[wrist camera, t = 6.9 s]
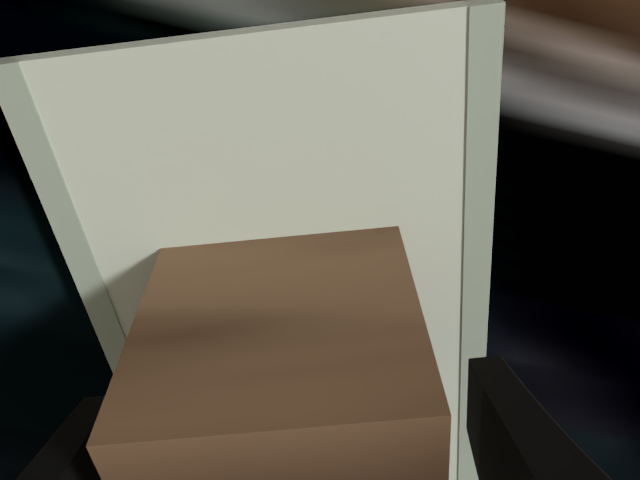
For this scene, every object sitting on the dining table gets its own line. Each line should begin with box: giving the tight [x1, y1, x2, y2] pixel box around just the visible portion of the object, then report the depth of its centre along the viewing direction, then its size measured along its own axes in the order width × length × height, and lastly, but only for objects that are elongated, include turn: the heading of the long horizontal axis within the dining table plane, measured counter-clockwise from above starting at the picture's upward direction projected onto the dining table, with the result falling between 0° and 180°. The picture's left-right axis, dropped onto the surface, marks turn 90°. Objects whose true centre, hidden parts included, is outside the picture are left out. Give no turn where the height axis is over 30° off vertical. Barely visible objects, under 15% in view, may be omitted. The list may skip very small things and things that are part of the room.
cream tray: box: [0, 0, 505, 480], centre depth 14 cm, size 14×9×1 cm, turn 7°
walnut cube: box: [86, 226, 451, 480], centre depth 11 cm, size 5×5×5 cm
